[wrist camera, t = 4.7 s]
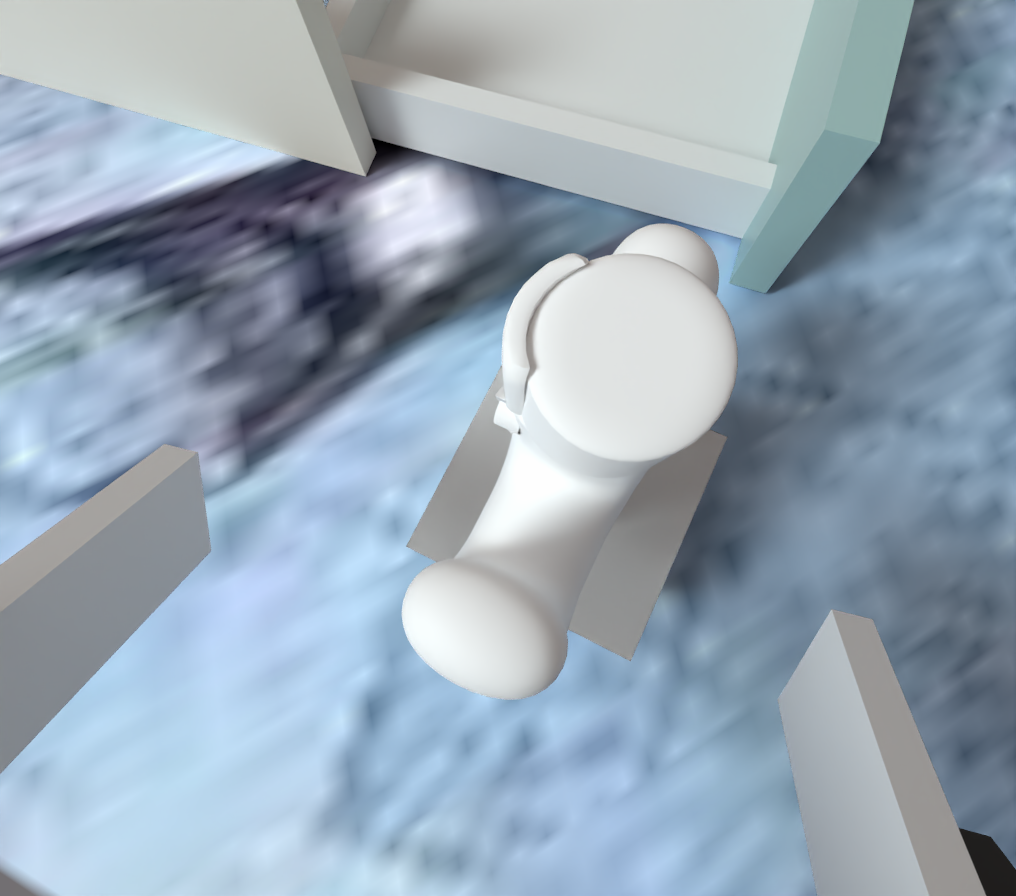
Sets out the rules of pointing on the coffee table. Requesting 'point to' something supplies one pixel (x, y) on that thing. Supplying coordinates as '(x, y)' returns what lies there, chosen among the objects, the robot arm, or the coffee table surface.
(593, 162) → the tray
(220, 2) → the cubby
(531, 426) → the figurine
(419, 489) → the coffee table surface
